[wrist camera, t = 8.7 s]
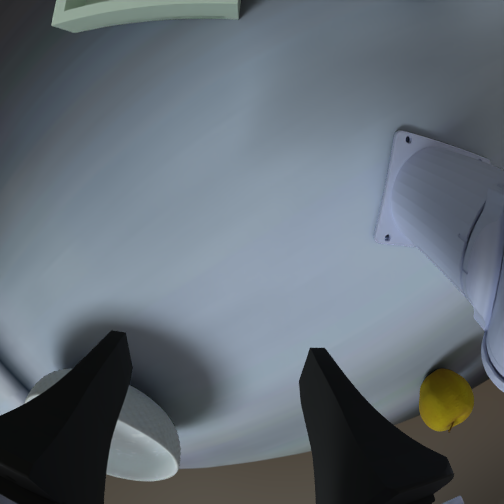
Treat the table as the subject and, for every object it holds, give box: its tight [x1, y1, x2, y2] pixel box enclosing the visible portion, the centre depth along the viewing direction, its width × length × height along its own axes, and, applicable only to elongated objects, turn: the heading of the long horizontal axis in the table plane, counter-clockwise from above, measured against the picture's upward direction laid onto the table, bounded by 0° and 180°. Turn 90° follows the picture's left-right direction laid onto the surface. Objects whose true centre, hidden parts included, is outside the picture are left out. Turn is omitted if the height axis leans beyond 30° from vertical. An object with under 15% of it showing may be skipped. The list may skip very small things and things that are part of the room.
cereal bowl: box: [25, 368, 181, 481], centre depth 25 cm, size 17×17×7 cm
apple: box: [419, 368, 474, 432], centre depth 25 cm, size 6×6×8 cm
